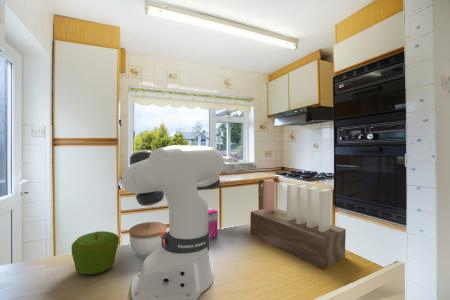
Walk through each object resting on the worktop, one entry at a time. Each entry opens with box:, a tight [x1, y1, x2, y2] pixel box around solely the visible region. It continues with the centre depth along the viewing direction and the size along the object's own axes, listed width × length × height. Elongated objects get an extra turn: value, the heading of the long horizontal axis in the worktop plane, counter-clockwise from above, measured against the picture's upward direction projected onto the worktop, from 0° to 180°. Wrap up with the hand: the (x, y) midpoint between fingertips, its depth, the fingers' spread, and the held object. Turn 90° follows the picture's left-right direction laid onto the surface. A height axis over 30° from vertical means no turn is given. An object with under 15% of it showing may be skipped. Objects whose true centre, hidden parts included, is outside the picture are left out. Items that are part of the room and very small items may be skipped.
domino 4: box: [307, 186, 320, 228], centre depth 81 cm, size 5×2×14 cm, turn 126°
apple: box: [71, 230, 120, 275], centre depth 69 cm, size 12×12×11 cm
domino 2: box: [285, 183, 299, 221], centre depth 89 cm, size 5×2×14 cm, turn 127°
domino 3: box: [296, 184, 309, 224], centre depth 85 cm, size 5×2×14 cm, turn 126°
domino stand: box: [249, 207, 347, 271], centre depth 88 cm, size 14×34×10 cm, turn 37°
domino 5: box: [318, 188, 332, 232], centre depth 78 cm, size 5×2×14 cm, turn 126°
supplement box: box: [208, 207, 219, 240], centre depth 95 cm, size 6×6×12 cm
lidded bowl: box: [128, 221, 167, 259], centre depth 80 cm, size 13×13×11 cm
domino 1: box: [262, 178, 275, 213], centre depth 99 cm, size 5×2×14 cm, turn 127°
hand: (249, 167), depth 108 cm, fingers open, 8 cm apart
